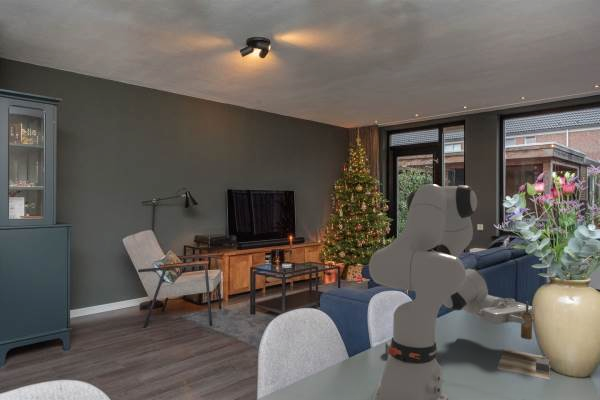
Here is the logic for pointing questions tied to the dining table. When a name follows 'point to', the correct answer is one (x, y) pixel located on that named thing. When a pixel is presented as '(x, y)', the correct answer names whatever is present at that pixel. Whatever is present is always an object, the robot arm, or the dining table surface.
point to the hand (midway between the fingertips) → (529, 320)
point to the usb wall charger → (387, 347)
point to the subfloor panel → (521, 364)
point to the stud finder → (542, 364)
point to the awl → (526, 324)
